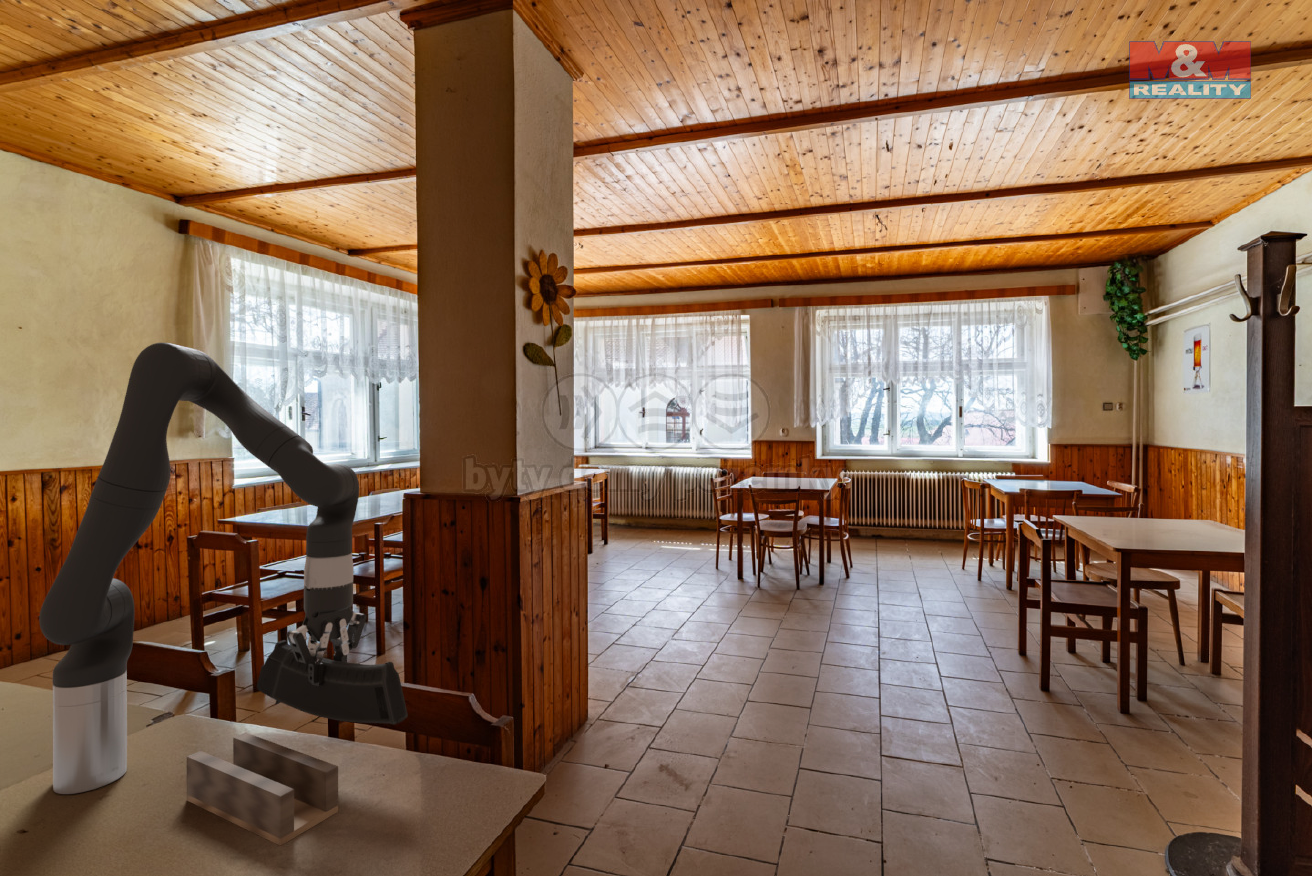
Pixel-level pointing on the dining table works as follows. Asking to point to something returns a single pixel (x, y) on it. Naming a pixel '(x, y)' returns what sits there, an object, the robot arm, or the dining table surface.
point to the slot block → (264, 788)
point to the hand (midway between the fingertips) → (327, 679)
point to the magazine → (334, 688)
